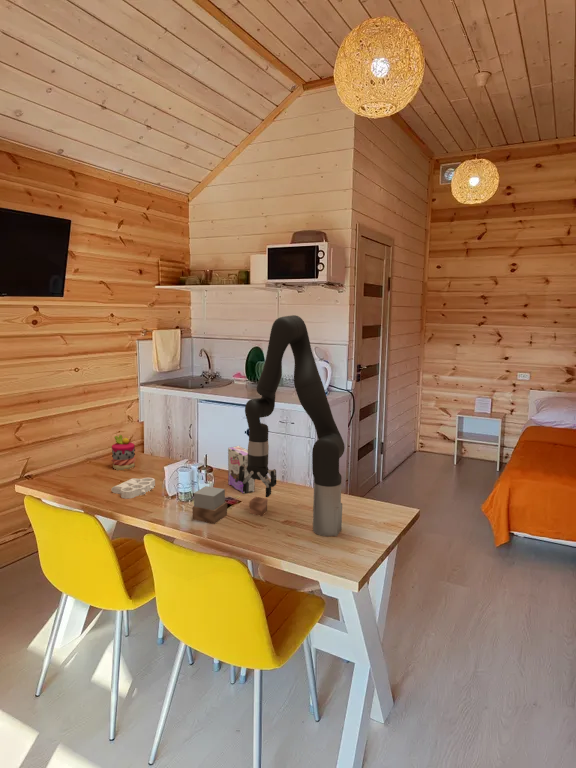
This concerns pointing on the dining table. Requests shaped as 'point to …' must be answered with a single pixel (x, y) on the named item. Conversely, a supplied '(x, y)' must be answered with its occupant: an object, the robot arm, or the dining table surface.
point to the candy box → (235, 460)
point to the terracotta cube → (258, 506)
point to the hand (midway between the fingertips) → (256, 494)
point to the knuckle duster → (134, 487)
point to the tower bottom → (210, 514)
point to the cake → (123, 454)
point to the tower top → (209, 498)
